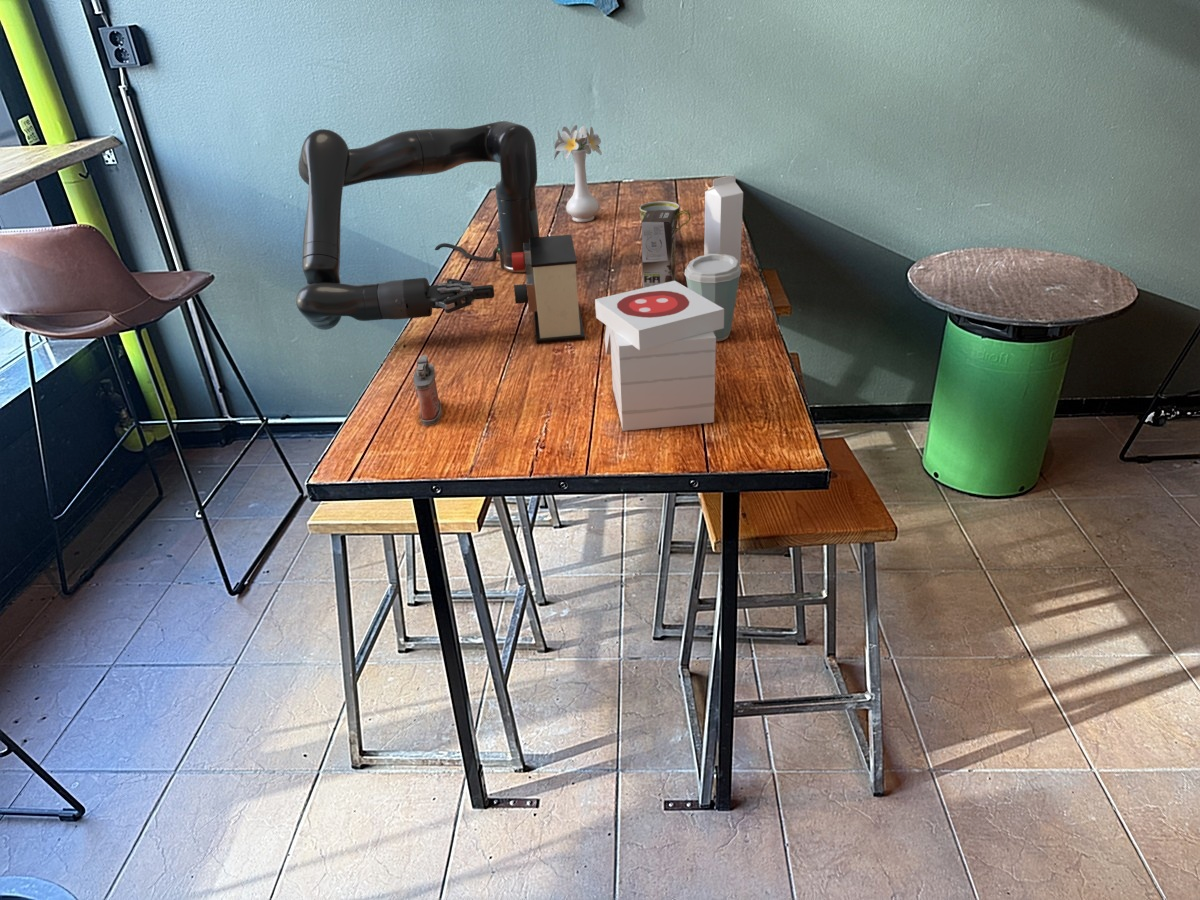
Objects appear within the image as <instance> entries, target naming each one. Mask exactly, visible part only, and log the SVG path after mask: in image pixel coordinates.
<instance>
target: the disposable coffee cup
mask: <svg viewBox="0 0 1200 900" xmlns="http://www.w3.org/2000/svg"><path fill="white" fill-rule="evenodd" d="M742 273H743V272H742V266H741V264H740V265H738V260H737V259H736V258H735V257H734V256H730V255H726V254H707V255H704V254H703V255H699V256H696V257H695V258H694V259H691V260H690V261H689V262H688V265H687V266H686V267H685V269H684V274H683V275H684V276H685V279H686V285H687V286H686V287H687V288H689V289H690V290H692V291H694V292H695V293H697V294H699V295H701V296H702V297H704V298H706V299H708V300H709V301H711V302H713V303H715V304H716V305H718V306H720V307H722V308H723V309H724V328H723V329H719V330H715V331H713V333H714V335H715V337H716V343H717V342H723V341H725V340H727V339H728V338H729V336H730V335H731V331H732V325H733V320H734V314H735V308H736V301H737V294H738V289H739V282H740V276H741V274H742Z"/></svg>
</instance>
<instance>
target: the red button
mask: <svg viewBox="0 0 1200 900" xmlns="http://www.w3.org/2000/svg"><path fill="white" fill-rule="evenodd" d="M512 264H513V271H520V270H525V261H524V252H517V253H512Z"/></svg>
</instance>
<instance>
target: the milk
mask: <svg viewBox="0 0 1200 900" xmlns="http://www.w3.org/2000/svg"><path fill="white" fill-rule="evenodd" d="M736 178H737V177H736V175H734V174H733V175H729V176H723V177H719V178H714V179H713V180H712V187H710V188H709V189H707V190H705V191H704V233H703V234H704V235H703V236H704V240H703V243H704V244H703V245H704V246H703V249H704V251H703V255H707V254H726V255H730V256H734V257H735V258H736V259H737V260H738V265H740V266H741V257H742V235H743V208H744V191H743V190H742V189H741V187H740V186H739V184H738V183H737V181H736Z"/></svg>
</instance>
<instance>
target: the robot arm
mask: <svg viewBox="0 0 1200 900" xmlns="http://www.w3.org/2000/svg"><path fill="white" fill-rule="evenodd" d="M537 159H538V158H537V146H536V141H535V138H534V136H533V133H532V132H531V130H530V129H529V128H528V127H526V126H524V125H522V124H519V123H515V122H513V121H508V120H501V121H500V120H499V121H494V122H490V123H486V124H482V125H477V126H471V127H465V128H449V127H448V128H447V127H445V128H444V127H443V128H423V129H422V128H421V129H412V130H411V129H410V130H403V131H400V132H397V133H394V134H391V135H389V136H387V137H384V138H382V139H380V140H378V141H375V142H373V143H371V144H368V145H366V146H362V147H361V146H360V147H356V148H349V147H348V144H347V142H346V141H345V139H344V138H343V137H342V136H341V135H340V134H339V133H337V132H335V131H334V130H332V129H326V128H325V129H324V128H321V129H317V130H314V131H312V132H310V133H309V134H308V135H307V137H305V140H304V141H303V144H302V146H301V149H300V155H299V159H298V174H299V176H300V178H301V179H302V181H303V182H304V183H306V184H307V185H308V198H307V199H308V200H307V207H306V208H307V209H306V215H305V222H304V229H303V240H302V259H301V260H302V262H301V264H302V265H301V266H302V272H303V274H304V277H305V280H306V285H305V286H304V287H302V288H301V289H300V290H299V291H298V293H297V295H296V297H295V303H296V307H297V309H298V311H299V313H300V314H301V315H302V316H303V317H304V319H306V320H307V322H308V323H309V324H310V325H311V326H312V327H314V328H315V329H318V330H322V331H327V330H331V329H333V328H335V327H336V326H337V325H338V324H339V323H340V321H341V319H342V317H350V318H352V319H354V320H356V321H359V322H360V321H361V322H370V321H380V320H392V321H393V320H394V321H395V320H396V321H397V320H406V319H407V320H408V319H417V318H428V317H431V316H432V314H433V309H435V310H436V309H438V310H439V309H440V310H444V312H445V313H446V314H451V313H453V312H456V311H459V310H461V309H464V308H467V307H469V306H472V304H473V302H476V300H486V299H494V298H495V286H494V285H493V284H486V285H474V284H472V282H471V281H466V280H461V279H455V278H447V279H446V282H439V283H438V284H434V285H431V284H430V283H429V280H428V279H427V278H426V277H417V278H405V279H395V280H387V281H383V282H374V283H364V284H350V283H349V284H348V283H342V282H341V277H340V270H341V241H342V239H341V237H342V235H341V232H342V231H341V230H342V229H341V226H342V225H341V224H342V223H341V222H342V220H341V219H342V216H341V215H342V199H343V190H344V187H348V186H353V185H358V184H362V183H366V182H367V183H368V182H373V181H381V180H390V179H392V180H393V179H398V178H407V177H408V178H409V177H420V176H429V175H437V174H441V173H444V172H447V171H450V170H452V169H454V168H456V167H459V166H461V165H464V164H467V163H468V164H469V163H480V162H481V163H483V162H484V163H498V164H499V167H500V168H499V169H500V180H499V181H498V182H497V183H496V184H495V188H494V190H495V198H496V206H497V214H498V223H499V228H497V229H496V236H497V243H496V247H495V248H494V249H493V250H492V256H490V257H482V256H477V255H474V254H471V253H468V252H466V250H465V249H464V248H463V247H462V246H459V245H456V244H452V243H447V242H446V243H445V242H444V243H439V244H438V245H436V246H435V248H434V251H439V250H440V249H442V248H449V249H452V250H454V251H458V252H461V254H462V255H463V256H464V257H466V258H467V259H471V260H473V261H479V262H493V261H495V260H496V259H497V256H499V261H500V269H504V271H507V272H510V273H526V268H525V270H520V271H513V264H512V253H517V252H524V246H523V243H530V241H529V238H535V237H541V235H540V227H539V217H538V207H537V206H538V205H537V195H536V186H537V183H538V162H537V161H538V160H537ZM524 261H525V258H524Z"/></svg>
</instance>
